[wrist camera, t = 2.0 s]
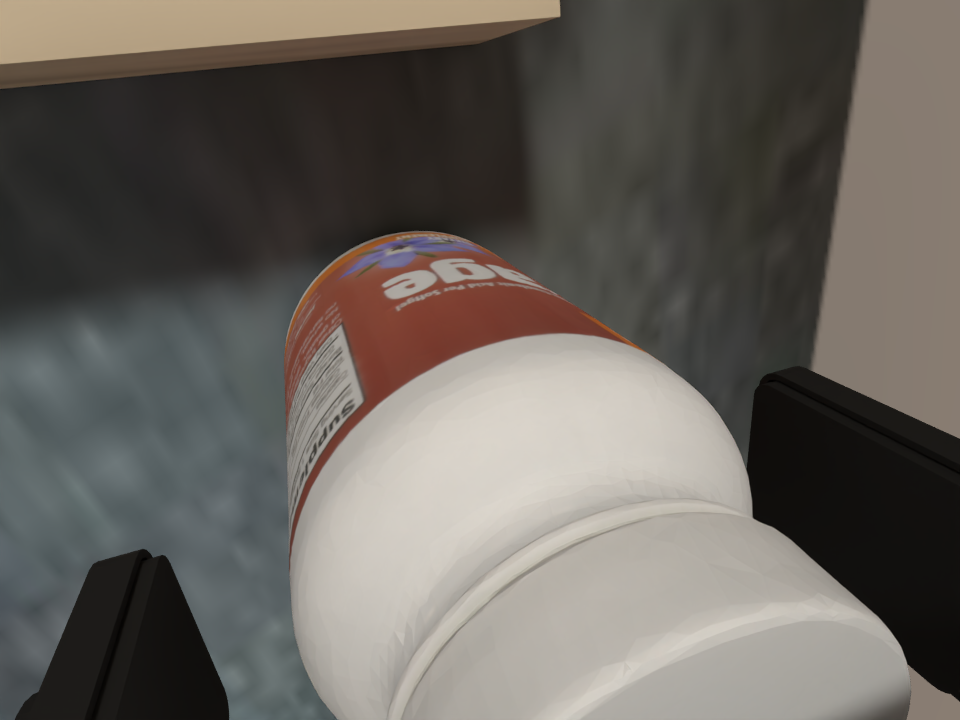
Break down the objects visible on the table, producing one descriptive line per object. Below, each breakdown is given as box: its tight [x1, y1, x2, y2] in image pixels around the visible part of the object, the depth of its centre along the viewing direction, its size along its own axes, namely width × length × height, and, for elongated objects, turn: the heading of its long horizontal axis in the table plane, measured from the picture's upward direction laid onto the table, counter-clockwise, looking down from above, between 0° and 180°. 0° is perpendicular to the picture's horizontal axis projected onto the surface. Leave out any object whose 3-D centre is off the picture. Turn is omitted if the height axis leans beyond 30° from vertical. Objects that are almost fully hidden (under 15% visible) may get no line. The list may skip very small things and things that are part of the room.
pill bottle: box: [284, 231, 911, 720], centre depth 10 cm, size 6×6×11 cm
